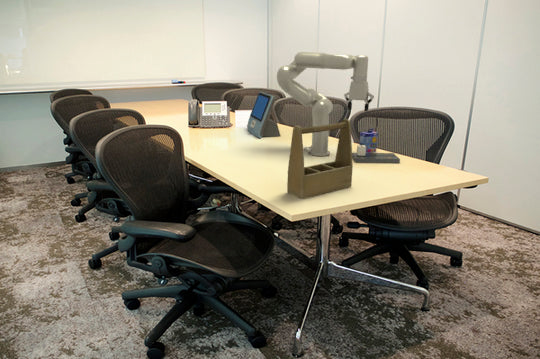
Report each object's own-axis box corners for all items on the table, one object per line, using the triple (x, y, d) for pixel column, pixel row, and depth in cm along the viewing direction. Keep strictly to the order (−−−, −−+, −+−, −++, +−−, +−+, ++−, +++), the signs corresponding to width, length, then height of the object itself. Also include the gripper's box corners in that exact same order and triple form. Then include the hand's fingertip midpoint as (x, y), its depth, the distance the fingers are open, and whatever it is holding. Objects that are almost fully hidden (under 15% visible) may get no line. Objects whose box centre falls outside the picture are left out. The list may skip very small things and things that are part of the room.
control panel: (355, 162, 227) (356, 158, 226) (351, 156, 241) (351, 152, 240) (399, 163, 227) (400, 158, 226) (392, 157, 240) (393, 152, 239)
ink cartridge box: (364, 153, 248) (365, 129, 244) (358, 151, 253) (359, 128, 249) (376, 152, 253) (378, 128, 248) (370, 150, 257) (372, 127, 253)
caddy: (302, 199, 170) (304, 127, 162) (286, 192, 179) (287, 123, 170) (351, 186, 187) (356, 120, 178) (335, 181, 195) (338, 117, 186)
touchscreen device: (244, 130, 320) (245, 90, 311) (269, 130, 326) (270, 91, 317) (256, 139, 288) (257, 95, 279) (283, 138, 294) (285, 95, 285)
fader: (358, 155, 231) (358, 146, 229) (356, 153, 235) (357, 144, 234) (365, 155, 231) (366, 146, 229) (363, 153, 235) (364, 145, 233)
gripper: (342, 78, 229) (340, 109, 234) (372, 79, 219) (370, 112, 224) (348, 78, 234) (346, 108, 240) (377, 79, 225) (375, 110, 230)
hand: (357, 110), depth 232 cm, fingers open, 9 cm apart
